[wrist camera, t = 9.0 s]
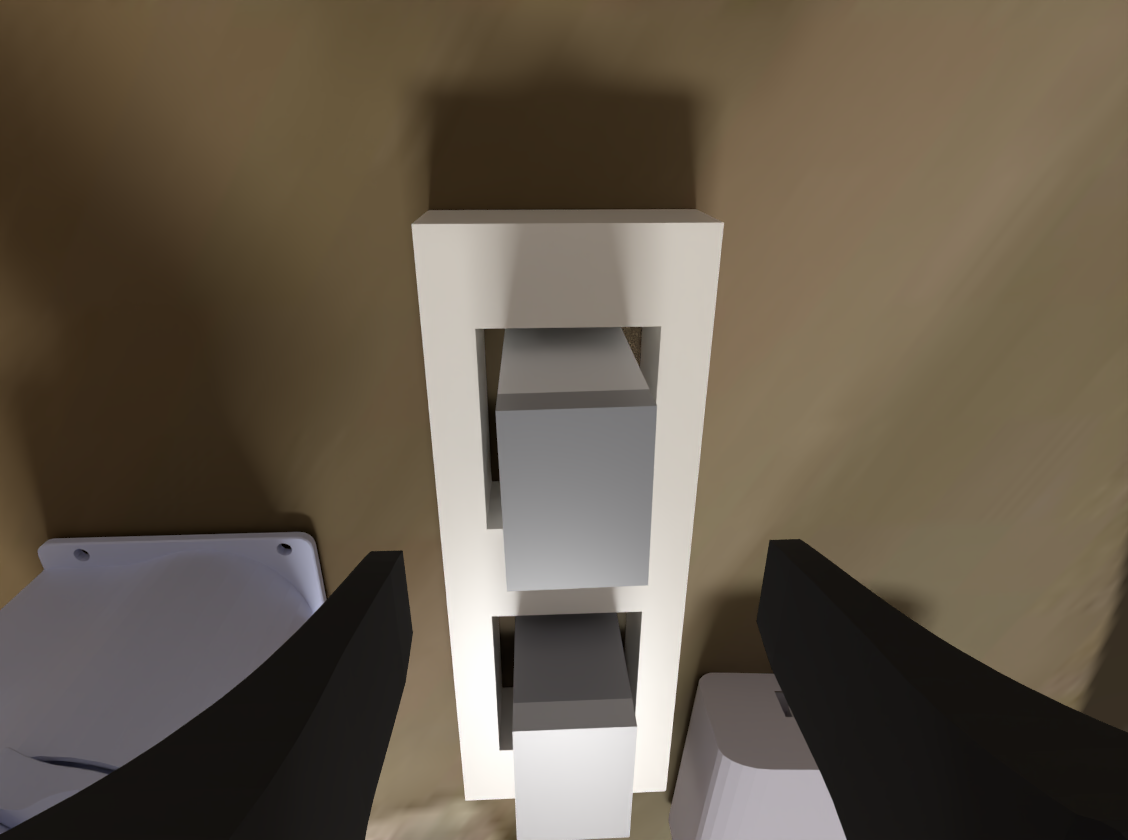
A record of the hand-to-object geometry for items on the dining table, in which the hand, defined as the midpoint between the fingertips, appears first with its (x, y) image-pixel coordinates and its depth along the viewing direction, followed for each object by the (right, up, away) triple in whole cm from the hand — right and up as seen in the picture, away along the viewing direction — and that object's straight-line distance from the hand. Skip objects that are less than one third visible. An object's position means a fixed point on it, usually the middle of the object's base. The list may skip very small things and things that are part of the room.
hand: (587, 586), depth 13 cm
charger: (+9, -14, +18) cm, 25 cm away
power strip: (-1, 0, +11) cm, 11 cm away
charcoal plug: (-1, -5, +13) cm, 14 cm away
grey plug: (-1, +4, +9) cm, 10 cm away
